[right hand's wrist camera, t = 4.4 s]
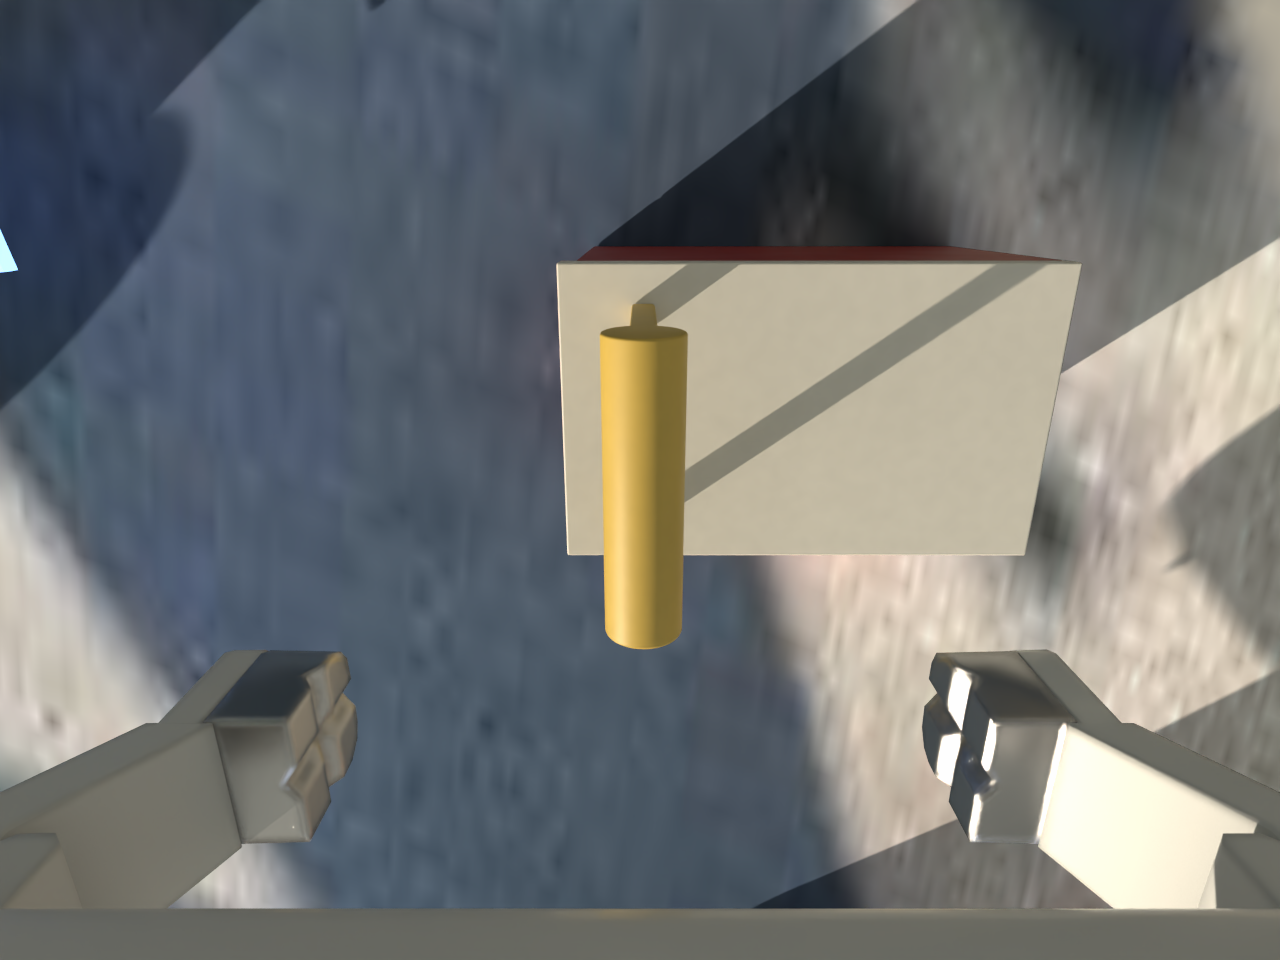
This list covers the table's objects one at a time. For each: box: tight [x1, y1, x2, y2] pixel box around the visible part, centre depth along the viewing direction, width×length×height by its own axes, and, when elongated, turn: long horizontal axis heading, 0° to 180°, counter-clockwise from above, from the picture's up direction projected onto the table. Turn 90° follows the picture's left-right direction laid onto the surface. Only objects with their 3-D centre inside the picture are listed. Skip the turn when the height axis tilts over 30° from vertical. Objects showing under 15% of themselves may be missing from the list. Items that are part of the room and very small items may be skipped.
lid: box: [557, 261, 1082, 649], centre depth 20 cm, size 16×10×8 cm, turn 90°
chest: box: [577, 246, 1062, 261], centre depth 29 cm, size 15×10×9 cm, turn 90°
